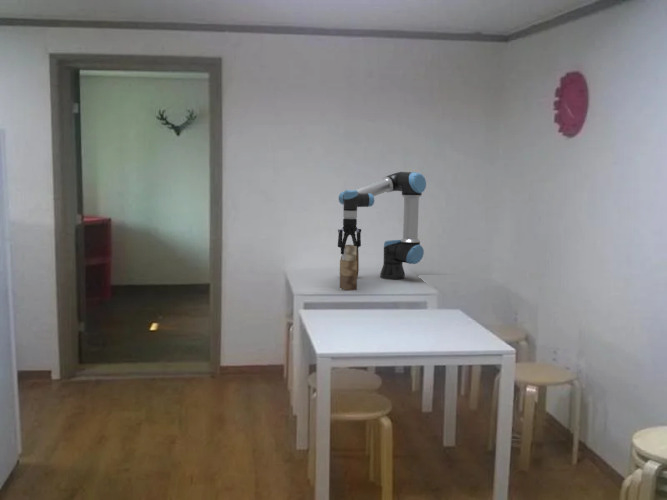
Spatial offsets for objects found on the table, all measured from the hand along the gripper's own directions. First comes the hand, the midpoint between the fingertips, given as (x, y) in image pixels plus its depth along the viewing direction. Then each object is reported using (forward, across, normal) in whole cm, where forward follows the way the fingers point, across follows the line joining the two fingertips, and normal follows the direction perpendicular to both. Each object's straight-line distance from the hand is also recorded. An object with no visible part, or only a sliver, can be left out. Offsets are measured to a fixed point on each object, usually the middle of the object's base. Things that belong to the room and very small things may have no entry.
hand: (348, 259), depth 401 cm
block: (+17, -18, -32) cm, 40 cm away
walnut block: (+16, 0, 0) cm, 16 cm away
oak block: (+8, 0, 0) cm, 8 cm away
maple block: (0, 0, 0) cm, 0 cm away
